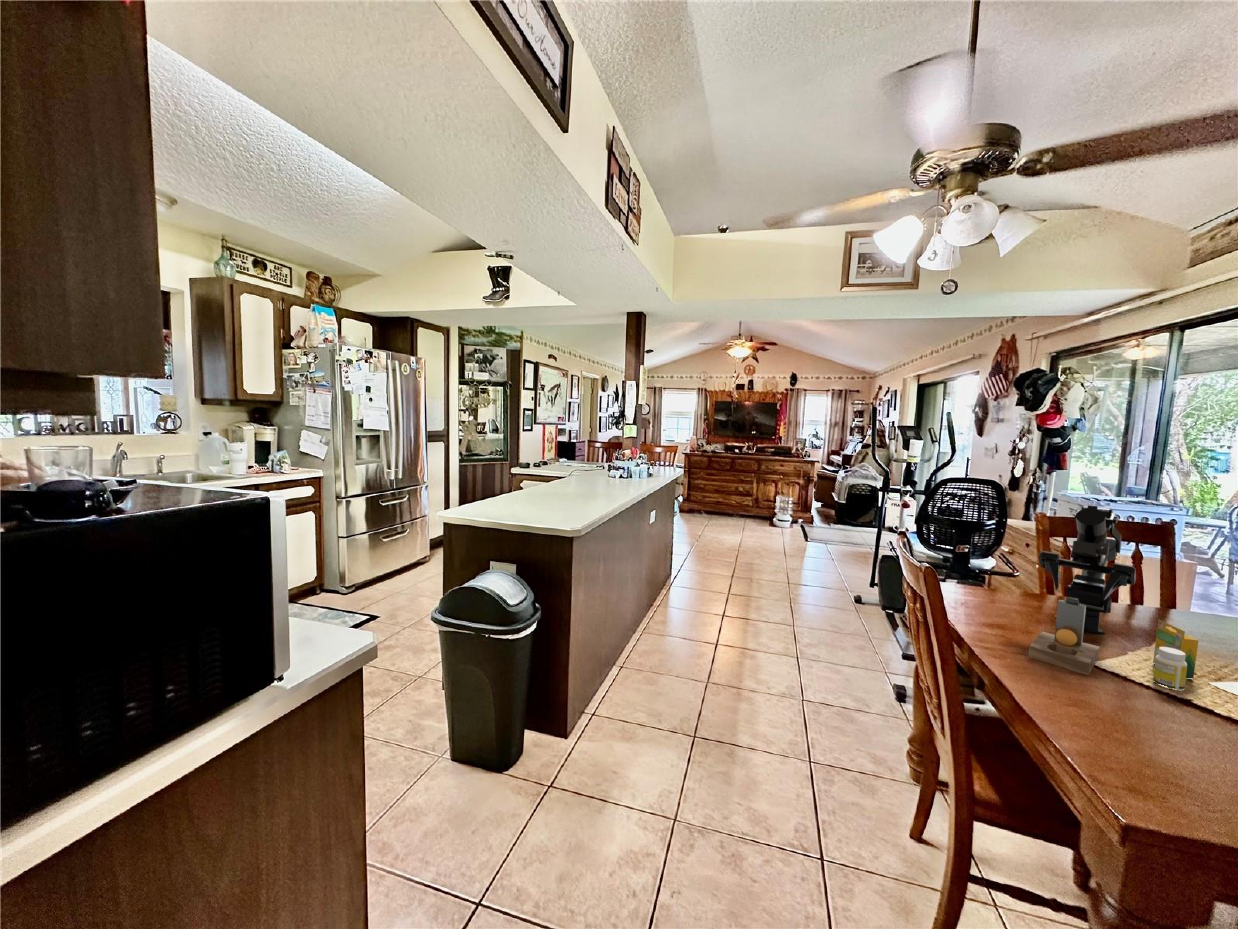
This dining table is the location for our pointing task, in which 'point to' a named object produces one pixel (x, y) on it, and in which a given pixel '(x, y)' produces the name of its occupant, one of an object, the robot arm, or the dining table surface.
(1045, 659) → the board
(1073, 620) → the grey piece
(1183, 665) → the supplement bottle
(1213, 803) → the dining table surface
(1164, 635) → the crayon box
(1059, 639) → the ball
